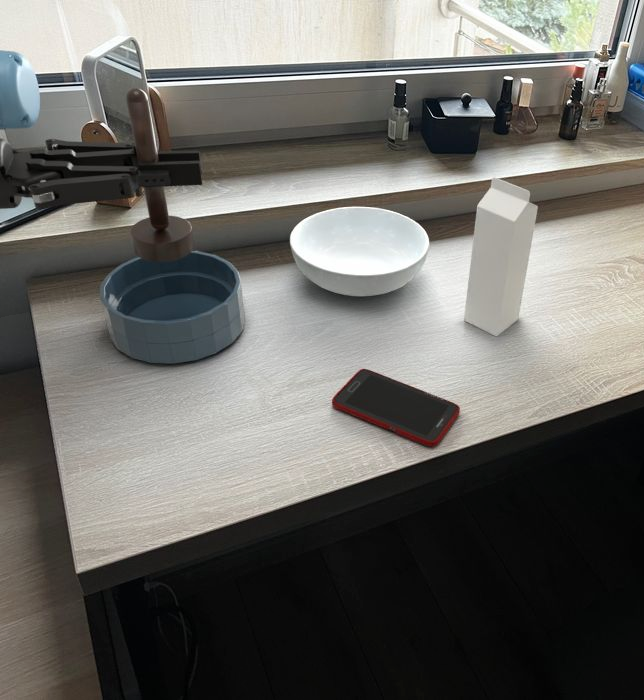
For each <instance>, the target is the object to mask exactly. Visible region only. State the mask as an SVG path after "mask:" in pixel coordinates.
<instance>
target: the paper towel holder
mask: <svg viewBox="0 0 644 700" xmlns="http://www.w3.org/2000/svg"><path fill="white" fill-rule="evenodd" d="M125 101H126V106H127V111H128V117H129V120H130V126H131V131H132V136H133V141H134V142H133V143H135V147H136V152H137V157H138V162H159V158H158V152H157V151H158V148H157V142H156V136H155V131H154V126H153V124H154V123H153V120H152V113H151V107H150V103H149V97H148V95H147V93H146V92H145V91H144V90H142V88H138V87H133V88H130V89H129V90H128V91H127V92H126V94H125ZM142 188H143V193H144V197H145V203H146V208H147V213H148V217H145V218H143V219H140V220H139V221H137V222H136V223H134V224H133V225H132V227H131V229H130V235H131V237H130V238H131V241H132V247H133V251H134V253H135V255H136V256H137V257H140V258H142V259H144V260H147V261H152V262H169V261H174V260H178V259H181V258H183V257H185V256H187V255H188V254H190V253H191V252H192V251H194V248H195V240H194V235H193V228H192V224H191V223H190V221H188V220H187V219H185V218H183V217H180V216H176V215H169V210H168V203H167V198H166V193H165V186H163V187H142Z"/></svg>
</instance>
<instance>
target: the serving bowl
mask: <svg viewBox="0 0 644 700" xmlns="http://www.w3.org/2000/svg"><path fill="white" fill-rule="evenodd" d="M289 245H290V250H291V254H292V257H293V259H294V261H295V264H296V266H297V267H298V268H299V269H298V270H300V271H301V273H302V274H303V275H304V276H305V277H306V278H307V279H309V280H310V281H311V282H312V283H313V284H315V285H317V286H318V287H320V288H322V289H324V290H326V291H329V292H332V293H335V294H338V295H339V294H340V295H343V296H351V297H372V296H378V295H383V294H387V293H392V292H393V291H397V290H398V289H400V288H403V287H404V286H405V285H407V284H408V283H410V282H411V281H412V280H414V279H415V278H416V276H417V275H418V274H419V273H420V271H421V270H422V269H423V267H424V265H425V262H426V260H427V258H428V254H429V250H430V237H429V236H428V234H427V232H426V230H425V229H424V228H423V226H421V224H419V223H418V222H417V221H415V220H414V219H411V218H410V217H409V216H406V215H403V214H401V213H398V212H395V211H392V210H388V209H384V208H379V207H369V206H345V207H337V208H331V209H327V210H324V211H320V212H317V213H314V214H312V215H310V216H308V217H306V218H304V219H303V220H301V221H300V222H299V223H298V224H296V226H295V227H294V228H293V229H292V231H291V233H290V236H289Z"/></svg>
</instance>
